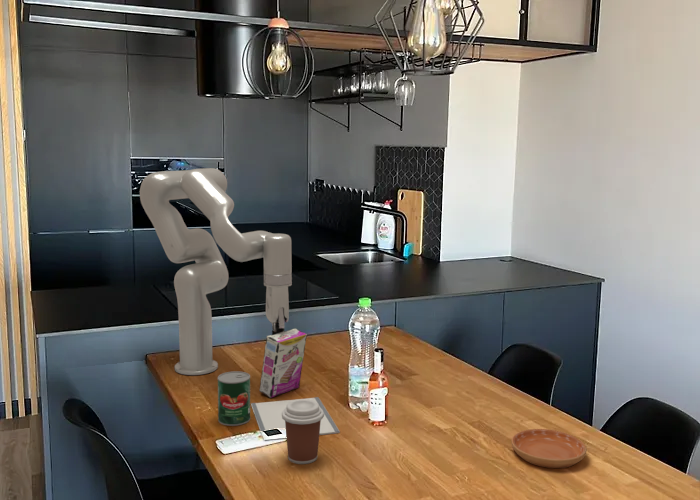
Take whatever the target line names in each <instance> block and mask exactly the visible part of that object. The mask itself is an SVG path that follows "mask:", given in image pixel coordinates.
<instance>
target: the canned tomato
mask: <svg viewBox="0 0 700 500" xmlns="http://www.w3.org/2000/svg"><path fill="white" fill-rule="evenodd" d="M217 408H218V409H217V412H218V413H217V415H218V417H217V420H218V423H219V424H221V425H224V426H228V427H230V426H231V427H236V426H242V425H245V424H247V423H249V422H250V421H251V374H250V373H248V372H245V371H237V370H236V371H228V372H227V371H226V372H222V373H221V374H219V375H218V376H217Z"/></svg>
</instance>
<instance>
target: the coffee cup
mask: <svg viewBox="0 0 700 500" xmlns="http://www.w3.org/2000/svg"><path fill="white" fill-rule="evenodd" d="M297 399H298V400H296V399H292V400H293V401H291V402H289V403H288V404H287V405H286V408H285V409H284V410H283V411H282V419H284V420H285V426H286V437H287V439H286V446H287V447H286V448H287V459H288V460H289V461H290V463H293V464H296V465H309V464H312V463H314V462H316V461H317V459H318V457H319V455H318V453H319V444H320V442H319V441H320V435H319V434H320V423H321V420H322V418H323V417H324V412H323V410H322V409H321V408H320V407H319V404H318V403H317V402H315V401H313V400H309V399H307V398H297Z"/></svg>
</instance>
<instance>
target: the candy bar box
mask: <svg viewBox="0 0 700 500" xmlns="http://www.w3.org/2000/svg"><path fill="white" fill-rule="evenodd" d="M307 336H308V334H307V333H305V332H303V331H301V330H299V329H297V328H292V329H288V330H284V332H281V333H277V334H273V335H272V334H270V335H266V339H265V345H264V353H263V362H262V369H261V375H260V376H261V377H260V386H259V392H260V393H262V394H263V395H265V396H267V397H268V398H269V399H272V398H274V397H277V396H279V395H283V394H285V393H288V392H290V391H293V390H295V389H298V388H300V382H301V377H302V376H301V375H302V369H303V362H304V356H305V350H306V342H307Z"/></svg>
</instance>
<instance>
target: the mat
mask: <svg viewBox="0 0 700 500" xmlns="http://www.w3.org/2000/svg"><path fill="white" fill-rule="evenodd" d="M298 399H299V398H297V399H295V400H298ZM306 399H309V400H313V401H315V402H317V403H318V404H319V407H320V408H321V409H322V410H323V412H324V417H323V418H322V420H321V423H320V434H319V436H323V435H324V436H325V435H333V434H340V433H341V431H340V430H339V428H338V426H337V425H336V423H335V421H334V419H333V418H332V416H331V414H330V413H329V411H328V410H327V409H326V407H325V405H324V404H323V402H322V400H321V399H320V398H319V397H318V396H317V397H316V396H315V397H309V398H306ZM293 400H294V399H287V400H277V401H275V400H274V401H266V402H265V401H264V402H250V408H251V410H252V412H253V414H254V418H255V420H256V421H255V422H256V424H257V426H258V428H259V431H264V430H269V429H274V428H285V429H286V426H285V420H284V419H282V411H283V410H284V409H285V408H286V405H287V404H288V403H289V402H291V401H293Z"/></svg>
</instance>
